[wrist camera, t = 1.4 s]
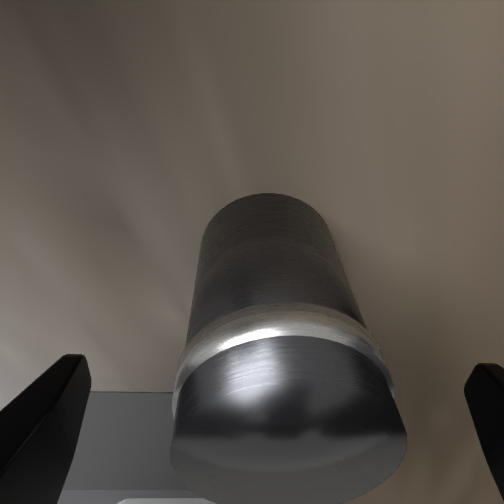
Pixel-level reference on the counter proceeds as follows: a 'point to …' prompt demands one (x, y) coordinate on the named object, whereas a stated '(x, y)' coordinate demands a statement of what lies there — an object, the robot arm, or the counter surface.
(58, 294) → the counter surface
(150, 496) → the camera body
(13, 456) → the robot arm
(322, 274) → the lens
